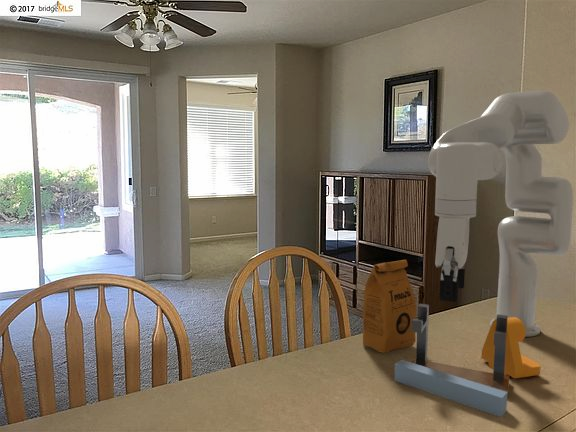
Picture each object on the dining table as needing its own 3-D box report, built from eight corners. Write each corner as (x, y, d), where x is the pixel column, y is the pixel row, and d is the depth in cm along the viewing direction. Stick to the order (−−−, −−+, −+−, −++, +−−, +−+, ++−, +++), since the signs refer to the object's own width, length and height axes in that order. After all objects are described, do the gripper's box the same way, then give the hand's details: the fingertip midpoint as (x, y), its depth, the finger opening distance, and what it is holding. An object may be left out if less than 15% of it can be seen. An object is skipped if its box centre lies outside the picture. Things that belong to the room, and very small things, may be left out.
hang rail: (401, 377, 105) (401, 359, 105) (506, 411, 91) (507, 392, 90) (394, 381, 103) (394, 364, 102) (501, 418, 89) (502, 398, 88)
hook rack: (414, 364, 111) (416, 301, 109) (508, 383, 102) (513, 314, 100) (405, 379, 103) (407, 312, 101) (507, 401, 94) (511, 327, 92)
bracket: (542, 377, 104) (545, 324, 103) (514, 382, 102) (517, 328, 101) (506, 357, 115) (509, 309, 113) (481, 361, 113) (483, 312, 111)
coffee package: (421, 348, 120) (424, 262, 117) (382, 358, 114) (385, 268, 111) (394, 335, 129) (396, 255, 126) (357, 344, 123) (358, 260, 120)
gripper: (442, 202, 102) (440, 280, 104) (426, 212, 86) (424, 304, 89) (480, 204, 98) (477, 284, 101) (471, 214, 83) (467, 309, 85)
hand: (452, 293), depth 95 cm, fingers open, 9 cm apart
